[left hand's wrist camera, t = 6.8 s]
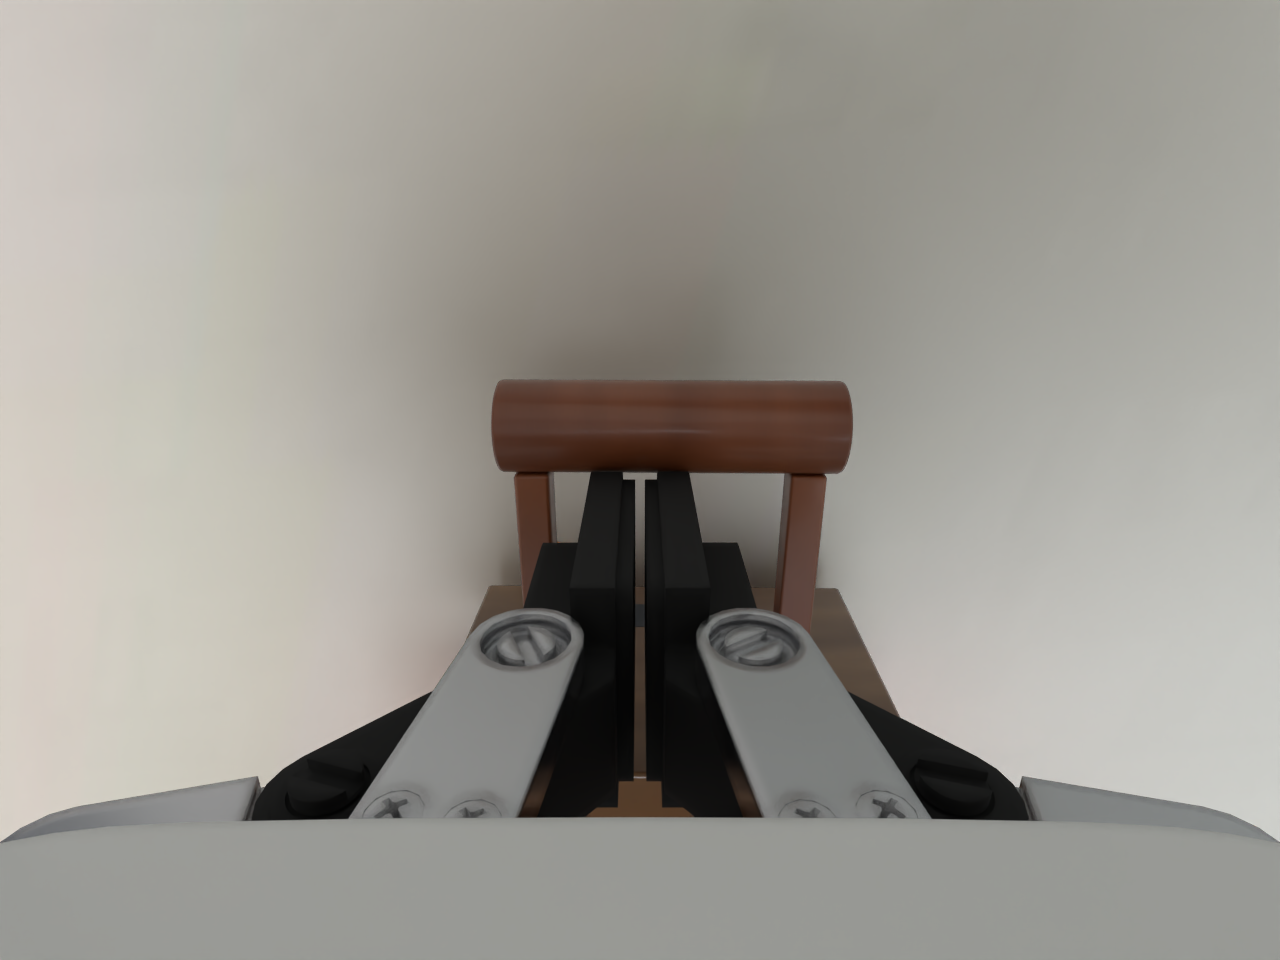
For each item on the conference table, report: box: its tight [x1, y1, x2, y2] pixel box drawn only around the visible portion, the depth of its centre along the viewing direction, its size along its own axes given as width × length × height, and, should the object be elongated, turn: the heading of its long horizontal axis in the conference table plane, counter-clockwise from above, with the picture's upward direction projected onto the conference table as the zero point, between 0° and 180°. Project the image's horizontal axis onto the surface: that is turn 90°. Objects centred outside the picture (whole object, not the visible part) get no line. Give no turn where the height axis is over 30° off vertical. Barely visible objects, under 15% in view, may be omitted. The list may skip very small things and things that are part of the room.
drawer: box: [464, 380, 900, 817], centre depth 16 cm, size 22×9×6 cm, turn 0°
